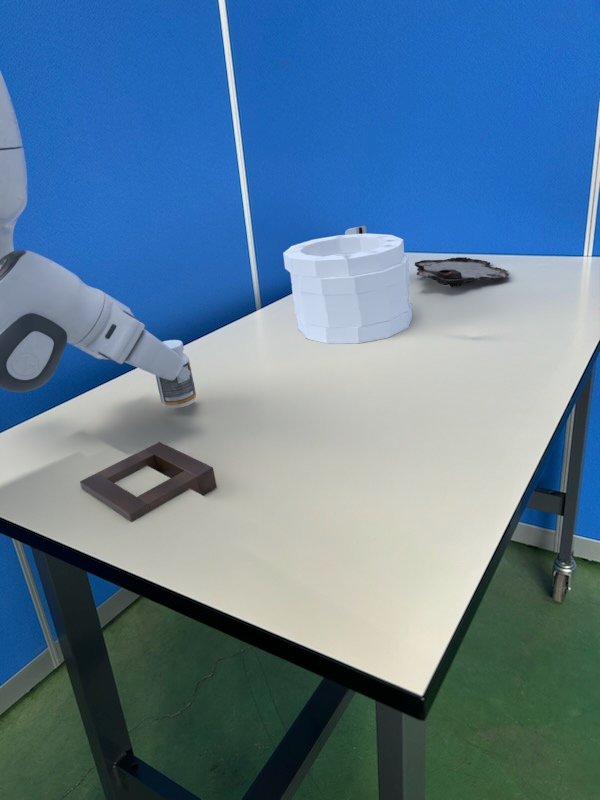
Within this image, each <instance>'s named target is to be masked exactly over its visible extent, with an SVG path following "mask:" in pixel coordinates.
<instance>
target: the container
mask: <svg viewBox="0 0 600 800" xmlns="http://www.w3.org/2000/svg"><path fill="white" fill-rule="evenodd" d="M404 241H405V240H404V238H401V237H398V236H395V235H393V234H384V233H383V234H382V233H367V232H366V234H351V235H345V234H338V235H331V236H327V237H320V238H314V239H310V240H307V241H303V242H301V243H296V244H294V245H291V246H290V247H288V249H286V250H285V251H284V252H283V253H282V254H283V264H284V269H285V270H286V271H287V272H289V275H290V282H291V292H292V300H293V307H294V316H295V317H296V324H297V330H298V331H299V333H301V334H302V336H303V337H304V338H305V339H306V340H311V341H315V342H318V343H322V344H327V345H347V344H354V345H355V344H357V345H358V344H364V343H368V342H374V341H378V340H384V339H388V338H391V337H392V336H393V337H394V336H395V335H397V334H399V333H402V332H403V331H405V330H407V329H409V327H410V325H411V322H412V319H413V310H412V309H413V308H412V302H410V301H411V300H410V278H409V277H410V276H409V275H410V262H409V255H406V254H405V246H404V245H405V243H404Z"/></svg>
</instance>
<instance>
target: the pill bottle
mask: <svg viewBox="0 0 600 800" xmlns="http://www.w3.org/2000/svg"><path fill="white" fill-rule="evenodd" d="M162 342H163V343H164V344H165V345H167V346H168V347H169V348H171V349H172V350H173V351H175V352H176V353H177V354H178V355H179V356H181V357H182V359H183V360H184V364H183V367H185V368H186V369H188V370H190V375H189V377H188V379H187V380H185V381H184V380H182V379H180V378H178V377H176V378H175V379H174V380H172V381H171V380H167V379H164V378H161V377H159V376H156V375H155V379H156V384H157V388H158V392H159V397H160V401H161V404H162V406H163V407H165V408H167V409H181V408H185V407H188V406H190V405H191V404H193V403H194V402H195V401H196V400H197V392H196V386H195V381H194V377H193V372H192V367H191V362H190V358H189V356H188V355H187V354H186V353H184V351H185V347H184V343H183V341H181V340H180V339H169V340H164V341H162Z"/></svg>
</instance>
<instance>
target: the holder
mask: <svg viewBox="0 0 600 800" xmlns="http://www.w3.org/2000/svg"><path fill="white" fill-rule="evenodd" d="M146 467H149V468H151V469H152V470H154V471H156V472H157V473H160V474H161V475H164V477H165V476H166V477H167V478H168V479H167V480H165V481H163V482H161V483H159V484H157V485H155V486H154V487H152V488H150V489H148V490H147V491H145V492H143V493H141V494H139V495H138V496H136V495H135V494H133V493H131V492H130V491H128V490H126V489H125V488H123V487H121V486H120V485H118V484H116V483H117V482H119V481H122V479H124V478H126V477H128V476H130V475H132V474H134V473H136V472H138V471H140V470H142V469H144V468H146ZM79 485H80V488H81V490H83V491H84V492H86V493H88V494H89V495H90V496H92V497H93V498H94V499H96V500H97V501H98V500H99V502H101V503H102V504H104V505H105V506H107V507H108V508H109V509H111V510H113V511H115V513H117V514H119V515H121V516H122V517H124V519H126V520H128V521H129V522H130V523H132V522H134V521H136V520H138V519H140V518H141V517H144V516H145V515H147V514H148V513H150V512H152V511H154V510H156V509H157V508H159V507H161V506H162V505H164V504H166V503H168V502H169V501H171V500H173V499H174V498H176V497H179V496H180V495H181V494H183V493H185V492H187V491H189V490H191V491H193V492H195V493H197V494H199V495H201V496H206V495H208V493H210V492H212V491H214V490H215V489H217V488H218V486H217V485H218V484H217V480H216V476H215V471H214V467H213V466H211V465H209V464H207V463H206V462H205V463H204V462H203V461H201V460H199V459H196V458H194V457H192V456H191V455H188V454H186V453H184V452H182V451H180V450H177V449H176V448H173V447H172V446H170V445H168V444H166V443H163V442H161V441H158V442H156V443H154V444H152V445H150V446H148V447H146V448H144V449H142V450H140V451H138V452H136V453H134V454H132V455H130V456H128V457H126V458H124V459H121V460H120V461H117V462H116V463H114V464H112V465H110V466H108V467H106V468H104V469H102V470H99V471H97V472H96V473H94V474H92V475H89V476H87V477H86V478H84V479H82V480H80V481H79Z"/></svg>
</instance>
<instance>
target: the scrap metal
mask: <svg viewBox="0 0 600 800" xmlns="http://www.w3.org/2000/svg"><path fill="white" fill-rule="evenodd" d="M490 265H491V262H488V261H486V260H483V259H476V258H474V259H473V258H470V257H467V256H466V257H465V256H464V257H459V256H458V257H450V258H445V259H423V260H419V261H415V262H414V266H415V267H416V268H417V269H416V270H417V272H416V276H420V277H424V278H426V277H427V278H429V279H431V280H433V281H437V282H438V283H439V284H442V285H444V286H449V287H450V288H451V289H453V288H454V287H456V288H457V287H461V286H463V284H464V283H467V282H476V281H487V280H489V281H490V280H491V281H497V280H500V279H504V278H508V277H510V273H509V270H507V269H504V268H502V267H497V266H496V267H494V266H490Z"/></svg>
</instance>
